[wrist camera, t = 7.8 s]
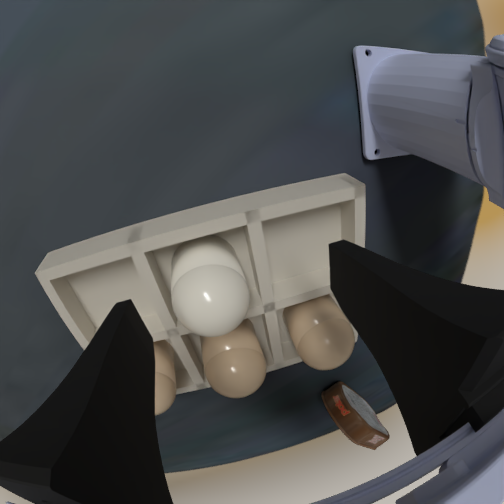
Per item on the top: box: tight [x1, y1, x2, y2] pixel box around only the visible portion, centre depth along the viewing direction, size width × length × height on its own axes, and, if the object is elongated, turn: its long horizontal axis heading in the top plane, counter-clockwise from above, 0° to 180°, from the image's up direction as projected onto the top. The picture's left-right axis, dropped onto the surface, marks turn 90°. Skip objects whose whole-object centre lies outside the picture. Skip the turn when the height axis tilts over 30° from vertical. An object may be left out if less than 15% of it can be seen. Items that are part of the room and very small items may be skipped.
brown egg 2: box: [282, 294, 355, 370], centre depth 21 cm, size 4×4×6 cm
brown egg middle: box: [200, 318, 267, 398], centre depth 21 cm, size 4×4×6 cm
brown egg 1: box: [153, 339, 176, 415], centre depth 20 cm, size 4×4×6 cm
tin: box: [321, 382, 389, 450], centre depth 31 cm, size 15×3×8 cm, turn 38°
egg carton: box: [35, 173, 365, 394], centre depth 21 cm, size 21×14×3 cm
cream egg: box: [171, 235, 250, 337], centre depth 17 cm, size 4×4×6 cm
